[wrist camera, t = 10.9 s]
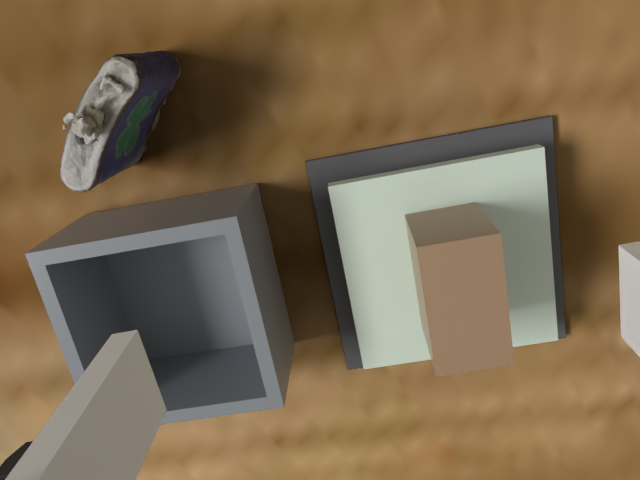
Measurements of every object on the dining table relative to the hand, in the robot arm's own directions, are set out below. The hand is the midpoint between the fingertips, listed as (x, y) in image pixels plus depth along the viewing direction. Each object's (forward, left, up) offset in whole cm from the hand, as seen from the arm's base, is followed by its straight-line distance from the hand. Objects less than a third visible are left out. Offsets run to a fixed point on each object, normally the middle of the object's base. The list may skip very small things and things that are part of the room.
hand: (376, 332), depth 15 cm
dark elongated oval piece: (-6, -15, -29) cm, 33 cm away
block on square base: (+9, +5, -28) cm, 30 cm away
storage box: (+8, -15, -28) cm, 33 cm away
